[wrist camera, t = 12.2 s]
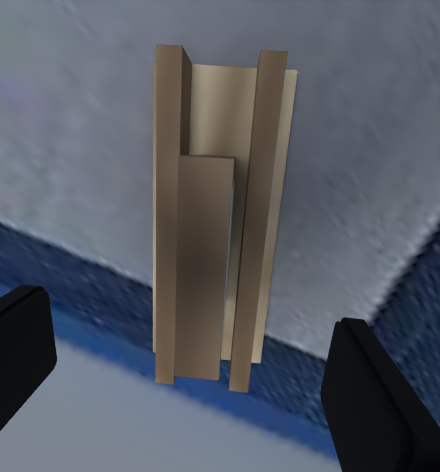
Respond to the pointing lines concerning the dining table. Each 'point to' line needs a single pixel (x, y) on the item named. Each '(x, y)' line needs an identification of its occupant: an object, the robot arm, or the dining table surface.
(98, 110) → the dining table surface
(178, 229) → the walnut picture frame
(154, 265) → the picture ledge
